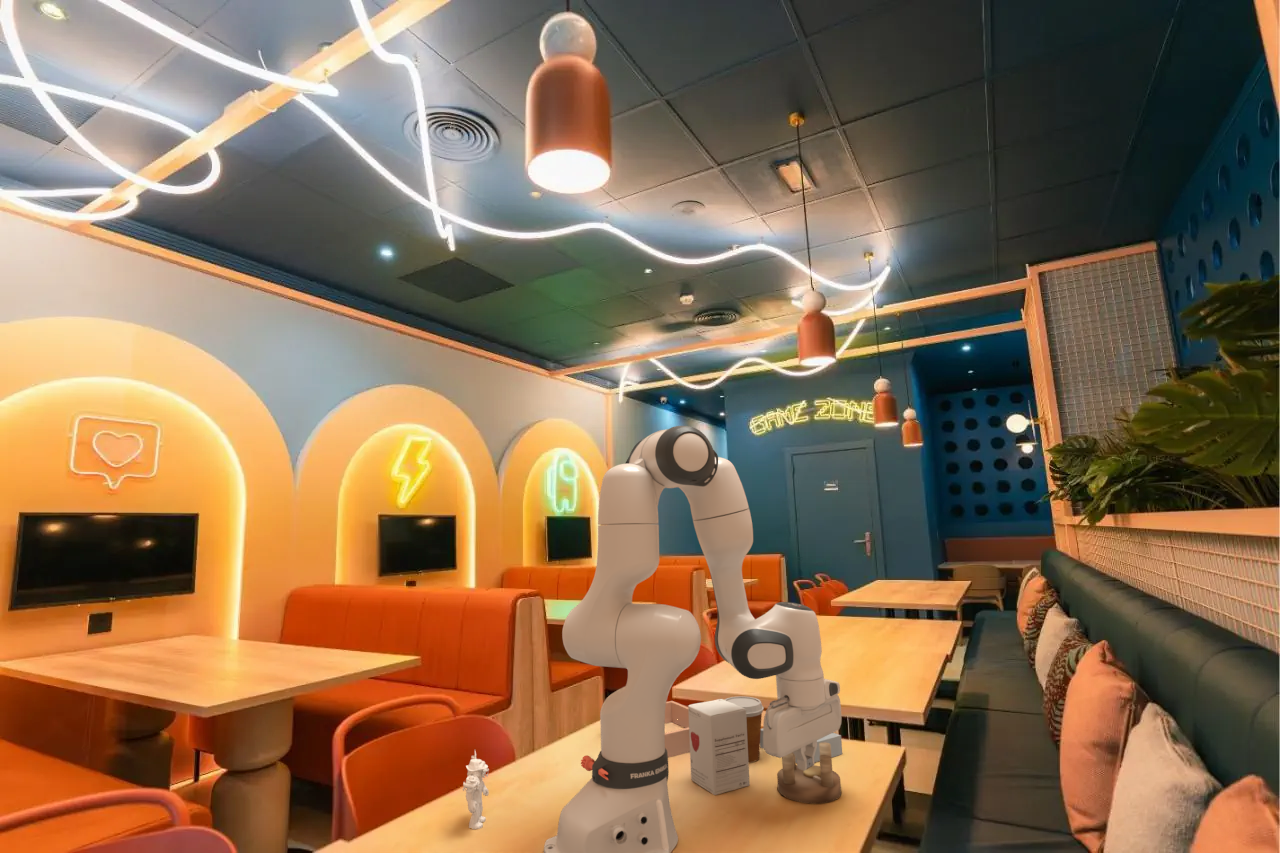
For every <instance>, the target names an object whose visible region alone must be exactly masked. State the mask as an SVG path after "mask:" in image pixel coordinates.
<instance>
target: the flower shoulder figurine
mask: <svg viewBox="0 0 1280 853" xmlns="http://www.w3.org/2000/svg"><path fill="white" fill-rule="evenodd" d="M465 767H466V769H467V773H466V775H467V777H466V779H465V781H463V784H462V786H463V787H462V791H463V792H466V793H465V798H466V799H465V800H466V802H467V808H468V811H469V813H471V817H470V820H469V823H468V829H469V828H472V829H471V830H480V829H482V828H483V826H484V824H483V823H484V822H486V820H487V819H486V816H482V815H483V808H484V807H483V796H484V797H488V796H489V793H490V792H489V788H487V786H486V785H485V782H484V779H485V778H486V777H487V778H488V776H489V773H488V772H489V771H490V769H489V768H488V767H489V766H488V764H486V762H485V760H482V759H480V758H477V752H476V750H474V755H471V759H470V761H469V764H468V765H465ZM486 773H487V774H486Z"/></svg>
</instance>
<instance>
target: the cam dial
mask: <svg viewBox="0 0 1280 853" xmlns="http://www.w3.org/2000/svg"><path fill="white" fill-rule="evenodd" d="M819 748H820V761H819V765H815V764H814V766H812V767H810V768H808V769H807V770H805V771H803V770H801V769H799V768H798V766H797V763H796V759H795V755H794V753H793V752H792V753H790V754H788V755H786V756H784V757H782V758H781V762H782V763H781V764H782V768H781V769H780V770H778V772H777V774H776V775H777V777H776V778H777V790H778V792H779V794H781V796H783V797H785V798H786V799H788V800H791V801H795V802H799V803H804V804H825V803H830V802H833V801H835V800H838V799H839V798H840V797H841V795H842V786H841V785H842V784H841V777H840V775H839V774H838V773H837V772H836V771H834V770H833V761H832V758H833V757H832V758H831V744H830V743H826V742H822V743H819Z"/></svg>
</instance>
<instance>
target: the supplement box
mask: <svg viewBox="0 0 1280 853" xmlns="http://www.w3.org/2000/svg"><path fill="white" fill-rule="evenodd" d="M687 707H688V713H689V738H690V752H689V755H690V756H689V757H690V758H689V759H690V778H691V779H690V780H691V781H692V782H694V783H695V784H697V785H699V786H700V787H701V788H703V789H704V790H706V791H708V792H709V793H711V794H712V795H714V796H716V795H720V794H723V793H727V792H730V791H735V790H737V789H738V790H739V789H742V788H745V787H749V786H750V785H751V784H750V770H749V769H750V768H749V767H750V766H749V764H750V762H748V742H747V720H746V709H745V708H742V707H740V706H737V705H736V704H734V703H730V702H728V701H726V700H725V699H723V698H717V699H714V700H709V701H703V702H697V703H691V704H689V705H687Z"/></svg>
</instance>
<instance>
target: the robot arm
mask: <svg viewBox="0 0 1280 853" xmlns="http://www.w3.org/2000/svg"><path fill="white" fill-rule="evenodd" d="M600 486H601V487H600V491H599V500H598V511H597V513H598V514H597V555H596V566H595V567H596V568H595V572H594V577H593V579H592V582H591V585H590V587H589V589H588V591H587V592H586V594H585V595H584V597H583V599H581V601H579V603H578V604H577V605H576V606H574V607H573V608H572V609H571V610H570V612H568V615H566V618H565V620H564V623H563V626H562V629H561V630H562V632H561V634H562V635H561V636H562V637H561V638H562V643H563V644H562V645H563V647H564V649H565V651H566V653H567V655H568V656H569V657H570V658H571V659H573V660H576V661H578V662H581V663H584V664H588V665H591V666H596V667H604V668H605V667H608V668H619V669H627V680H626V684H625V685H624V686H622V687H621V688H619V689H617V690H616V691H614V692H612V693H611V694H610V695H608V697H606V698H605V699H604V702H603V704H602V705H601V708H600V712H599V713H600V717H599V719H600V749H601V750H600V751H599V753H598V755H597V758H596V760H595V759H594V758H592V757H591V756H589V755H584V756H583V757H582V759H581V760H580V765H581V767H582V768H583V769H584V770H586V771H587V772H591V778H590V779H589V780H588V781H587V782H586V783H585V785H584V786H582V788H581V789H580V790H579V791H578V792H577V793H576V794H575V795H574V796H573V797H572V799H571V800H569V801H568V802H567V803H566V804H565V805H564V806H563V808H562V810H561V812H560V815H559V819H558V824H557V825H558V826H557V833H556V835H555V836H552V837H549V838H548V839H546V840H545V842H544V846H543V853H672V851H673V850H674V849H675V848H676V846H677V844H678V841H679V834H678V832H677V830H676V826H675V823H674V818H673V813H672V809H671V802H670V798H669V797H670V796H669V788H668V780H669V757H668V753H667V749H666V748H665V733H666V731H665V728H666V727H665V726H666V725H665V724H666V723H665V706H666V702H667V701H668V696H669V694H670V690H671V688H672V686H673V684H674V682H675V681H676V680H677V678H678V677H679V676H680V675H681V673H682V672H684V671H685V670H686V669H688V668H689V667H690V666H691V665H692V664H693V662H694V661H695V660H696V658H697V656H698V654H699V651H700V648H701V643H702V642H701V641H702V635H701V630H700V625H699V623H698V621H697V619H696V618H695V616H694V615H693V613H692V612H691V611H689V610H688V609H685V608H680V607H677V606H673V605H668V604H661V603H633V595H634V591H635V589H636V587H637V585H638V584H640V583H642V582H644V581H645V580H647V579H649V578H650V577H651V576H653V574H654V573H655V572H656V571H657V568H658V567H659V564H660V535H659V534H660V532H659V531H660V525H659V510H658V506H659V502H660V497H661V494H662V492H663V490H664V489H674V488H679V490H681V491H682V492H683V493H684V495H685V497H686V498H687V501H688V503H689V506H690V512H691V518H692V523H693V527H694V531H695V533H696V537H697V541H698V543H699V545H700V548H701V550H702V554H703V556H704V558H705V560H706V564H707V566H708V569H709V574H710V578H711V583H712V590H713V593H714V599H715V605H716V609H717V620H716V621H717V622H716V626H715V630H714V632H715V633H714V644H715V648H716V651H717V652H718V654H719V656H720V657H721V658H722V660H724V661H725V662H726V663H728V664H729V665H731V666H732V668H734V669H735V670H736V671H737V672H738V673H739V674H741V675H742V676H743V677H746V678H747V679H752V680H759V679H765V678H771V677H774V676H775V680H776V681H775V683H776V695H777V699H774V700H772V701H770V703H769V706H768V707H767V709H766V710H765V714H764V717H763V727H762V728H763V748H764V749H763V748H762V749H763V750H764V752H765V753H766V754H767V755H770V756H772V757H775V758H779V759H780V758H781V759H782V757H784V756H786V755H788V754H790V753H792V752H793V753H794V755H795V757H796V759H797V763H796V765H797V766H798V768H799V769H801V770H803V771H805V770H807V769H808V768H810V767H812V766H814V765H815V763H814V756H815V752H816V748H817V740H819V739H821V738H823V737H825V736H827V735H829V734H831V733H835V732H838V731H839V730H840V728H841V725H842V706H841V699H840V696H839V695H838V694H840V692H841V686H840V682H839V681H835V680H831V679H827V678H824V676H825V675H824V671H823V667H822V664H821V663H822V662H821V658H822V657H821V656H822V653H823V652H822V651H823V650H822V648H823V647H822V641H821V640H822V638H821V631H820V627H819V626H820V625H819V622H818V618H817V614H816V612H815V611H814V610H813V609H812V608H810V607H808V605H807V606H806V605H804V604H800V603H796V602H791V601H789V602H788V601H781V602H776V603H775V604H774V605H773V607H772V608H771V609H769V610H768V611H767V612H766V613H764V614H762V615H761V616H759V617H756V618H755V617H754V616H753V614H752V613H751V610H750V608H749V605H748V603H749V602H748V599H747V593H746V592H747V591H746V589H745V583H744V577H743V563H744V560H745V558H746V555H747V554H748V553H749V551H750V550H751V548H752V546H753V543H754V528H753V522H752V516H751V515H752V514H751V510H750V507H749V503H748V499H747V496H746V492H745V488H744V486H743V483H742V481H741V479H740V476H739V474H738V472H737V470H736V467H735V466H734V464H733V463H732V462H731V461H730V460H728V459H727V458H724V457H722V456H721V457H720V456H719V455H718V453H717V451H715V450H714V447H713V446H712V443H711V442H710V440H709V439H708V437H707V436H706V435H705V434H704V433H703V432H702V431H701V430H699V429H698V428H696V427H693V426H689V425H676V426H671V427H670V428H666V429H660V430H657V431H655V432H653V433H651V434H648V436H646V437H644V438H642V439H640V440H639V441H638V442H636V444H635V445H634V447H633V448H632V449H631V451H630V453H629V456H628V457H627V459H626V461H625V463H621V464H617V465H614V466H613V467H611V468H610V469H608V470H607V471H606V472H605V473H604V475H603V478H602V481H601V485H600Z"/></svg>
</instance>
